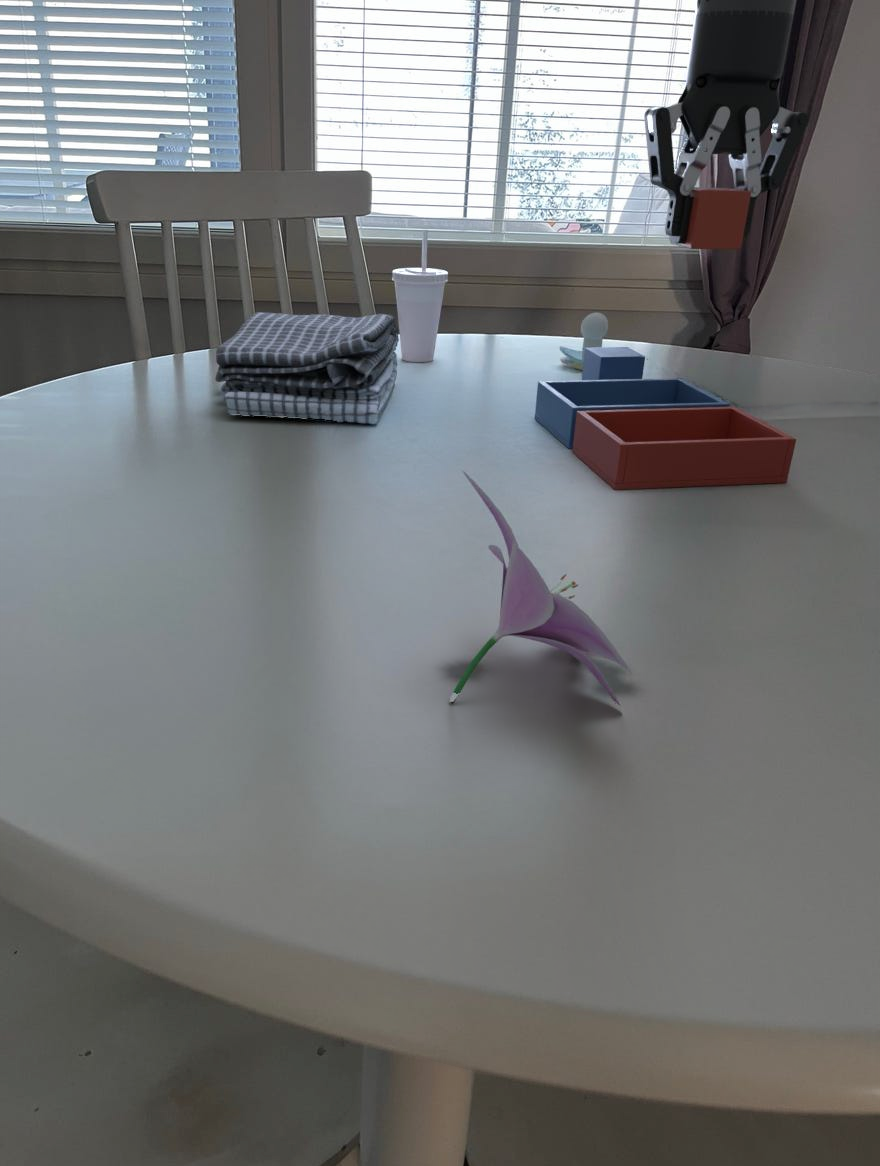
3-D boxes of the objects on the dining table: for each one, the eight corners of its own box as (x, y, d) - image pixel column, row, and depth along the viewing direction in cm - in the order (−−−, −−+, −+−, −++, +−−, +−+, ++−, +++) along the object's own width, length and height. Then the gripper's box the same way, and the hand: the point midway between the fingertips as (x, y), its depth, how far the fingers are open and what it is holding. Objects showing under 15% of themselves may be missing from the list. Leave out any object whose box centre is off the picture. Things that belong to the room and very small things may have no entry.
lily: (601, 818, 38) (725, 612, 36) (346, 682, 38) (456, 470, 36) (576, 736, 50) (669, 577, 48) (381, 633, 50) (465, 470, 48)
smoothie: (419, 367, 106) (424, 233, 99) (379, 358, 110) (380, 228, 103) (455, 359, 110) (462, 230, 104) (415, 350, 114) (418, 225, 107)
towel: (401, 382, 100) (402, 305, 96) (376, 429, 84) (377, 338, 80) (261, 375, 101) (258, 299, 97) (211, 420, 85) (204, 330, 81)
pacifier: (553, 362, 111) (560, 371, 105) (559, 306, 108) (565, 313, 103) (615, 363, 111) (625, 373, 105) (622, 308, 108) (632, 315, 103)
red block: (717, 244, 85) (726, 188, 83) (741, 249, 81) (752, 191, 79) (669, 243, 84) (677, 186, 82) (691, 249, 80) (700, 189, 78)
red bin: (727, 446, 81) (735, 406, 80) (786, 482, 73) (796, 438, 71) (571, 452, 79) (576, 410, 77) (614, 490, 71) (620, 444, 69)
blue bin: (675, 414, 90) (681, 378, 89) (722, 443, 82) (730, 403, 80) (534, 418, 88) (537, 381, 86) (568, 448, 80) (572, 407, 78)
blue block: (621, 391, 98) (627, 346, 96) (639, 403, 94) (645, 356, 92) (579, 392, 97) (584, 347, 95) (595, 404, 93) (601, 357, 91)
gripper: (679, 1, 70) (644, 247, 78) (853, 10, 72) (802, 249, 80) (641, 12, 76) (612, 238, 85) (802, 20, 79) (759, 240, 87)
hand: (705, 242), depth 82 cm, fingers closed on red block, 4 cm apart
